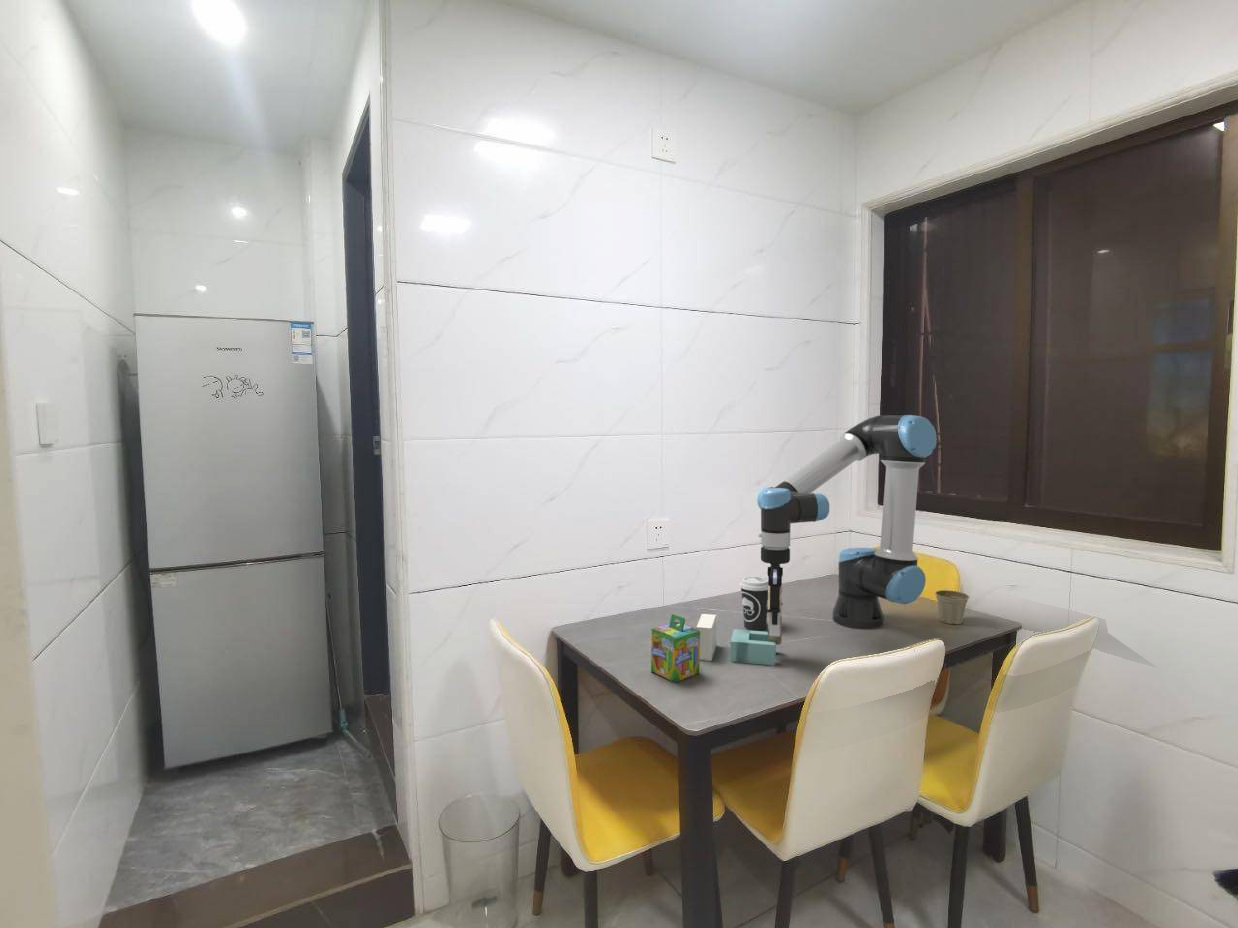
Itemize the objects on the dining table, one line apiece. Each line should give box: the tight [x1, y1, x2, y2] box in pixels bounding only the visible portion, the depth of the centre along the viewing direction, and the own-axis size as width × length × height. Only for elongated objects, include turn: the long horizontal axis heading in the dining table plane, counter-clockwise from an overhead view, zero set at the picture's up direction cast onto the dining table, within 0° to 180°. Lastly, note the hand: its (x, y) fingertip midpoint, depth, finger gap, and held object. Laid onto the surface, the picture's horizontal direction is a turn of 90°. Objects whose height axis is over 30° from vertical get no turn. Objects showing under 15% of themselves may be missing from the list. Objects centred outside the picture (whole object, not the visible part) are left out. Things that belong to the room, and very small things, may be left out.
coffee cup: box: [739, 575, 769, 632], centre depth 187 cm, size 10×10×15 cm
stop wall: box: [695, 613, 717, 662], centre depth 168 cm, size 4×11×9 cm, turn 165°
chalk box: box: [650, 613, 701, 684], centre depth 155 cm, size 9×9×15 cm
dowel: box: [767, 586, 783, 646], centre depth 163 cm, size 4×4×15 cm
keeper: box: [730, 628, 777, 666], centre depth 165 cm, size 12×9×6 cm
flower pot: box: [934, 589, 970, 625], centre depth 190 cm, size 9×9×9 cm
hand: (774, 632), depth 163 cm, fingers closed on dowel, 3 cm apart
